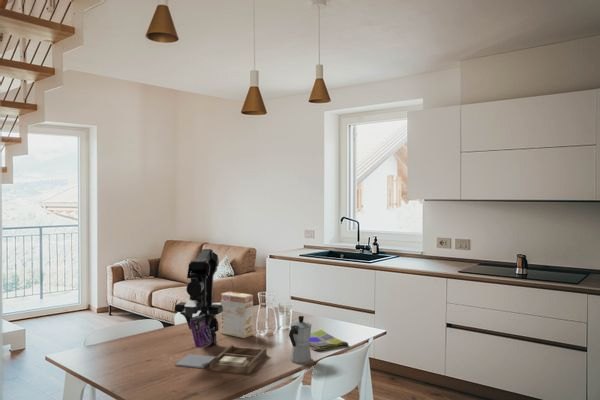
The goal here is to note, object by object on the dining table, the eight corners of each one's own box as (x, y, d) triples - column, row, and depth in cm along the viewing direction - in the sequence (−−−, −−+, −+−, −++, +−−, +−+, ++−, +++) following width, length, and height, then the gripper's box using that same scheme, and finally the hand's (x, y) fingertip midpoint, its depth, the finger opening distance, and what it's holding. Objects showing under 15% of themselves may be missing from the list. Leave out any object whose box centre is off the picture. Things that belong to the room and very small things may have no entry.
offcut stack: (217, 369, 183) (217, 360, 183) (223, 364, 189) (223, 355, 189) (244, 372, 181) (244, 363, 181) (249, 366, 187) (249, 357, 187)
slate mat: (175, 365, 186) (175, 364, 186) (189, 355, 198) (189, 354, 198) (203, 368, 184) (203, 366, 184) (215, 358, 195) (215, 356, 195)
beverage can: (205, 348, 186) (197, 318, 186) (192, 349, 189) (185, 320, 190) (217, 341, 192) (209, 313, 192) (204, 343, 195) (197, 314, 196)
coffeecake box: (253, 335, 228) (253, 294, 228) (243, 338, 222) (244, 297, 222) (229, 330, 236) (229, 291, 236) (219, 333, 230) (220, 293, 230)
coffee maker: (299, 353, 202) (299, 311, 202) (317, 357, 197) (318, 314, 197) (280, 364, 189) (280, 319, 189) (299, 368, 185) (299, 322, 184)
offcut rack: (209, 370, 182) (209, 362, 182) (230, 351, 203) (230, 344, 203) (248, 374, 178) (249, 366, 178) (266, 355, 200) (266, 348, 200)
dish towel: (323, 333, 234) (323, 328, 233) (350, 348, 212) (350, 341, 212) (291, 338, 226) (291, 332, 226) (316, 353, 204) (316, 347, 204)
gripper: (167, 293, 185) (167, 333, 185) (212, 296, 181) (212, 337, 181) (181, 288, 196) (180, 325, 196) (223, 290, 192) (223, 329, 192)
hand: (198, 329), depth 191 cm, fingers closed on beverage can, 6 cm apart
